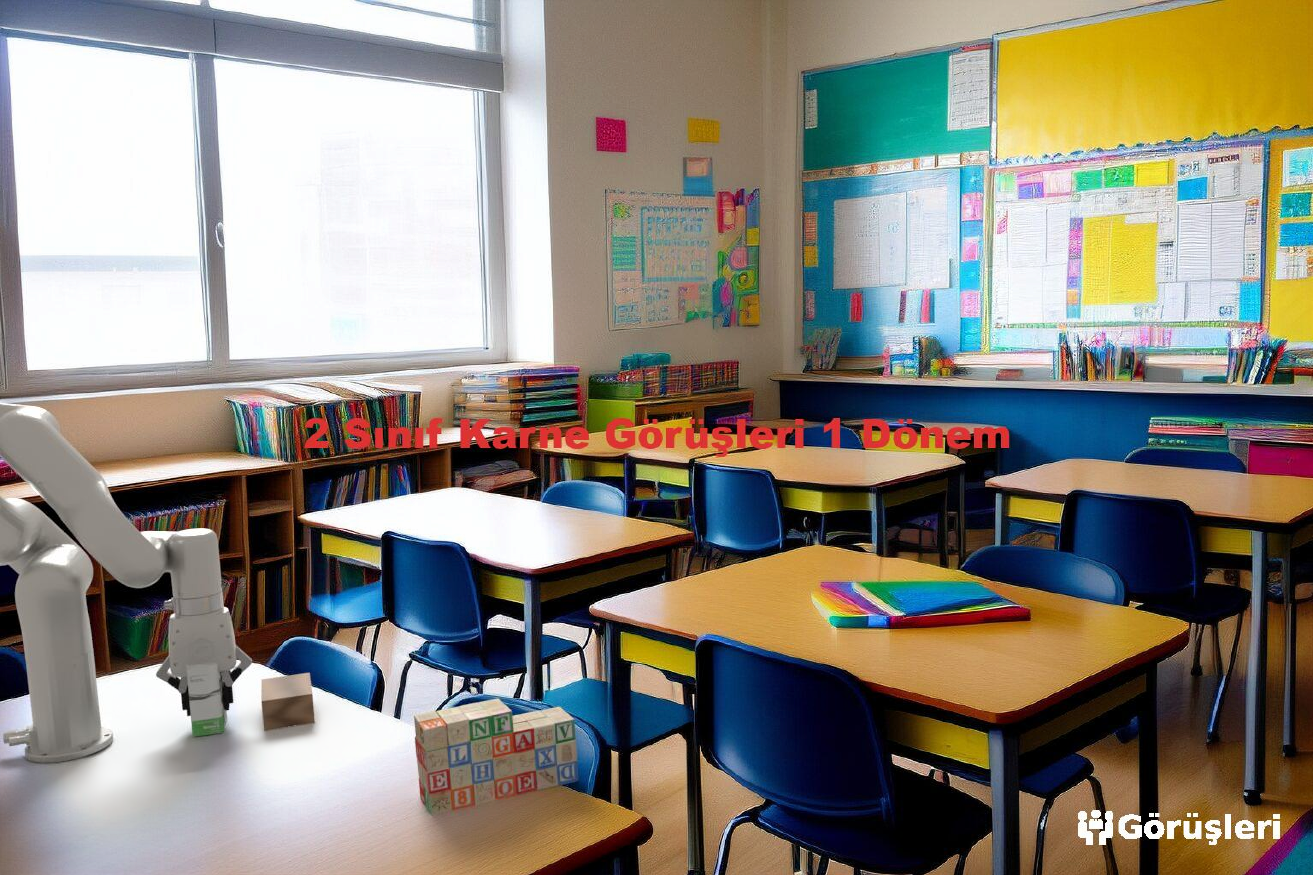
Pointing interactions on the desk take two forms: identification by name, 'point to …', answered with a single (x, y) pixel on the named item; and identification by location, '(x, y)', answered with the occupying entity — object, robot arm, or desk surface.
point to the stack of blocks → (491, 753)
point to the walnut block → (287, 701)
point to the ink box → (206, 699)
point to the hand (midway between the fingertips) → (208, 709)
